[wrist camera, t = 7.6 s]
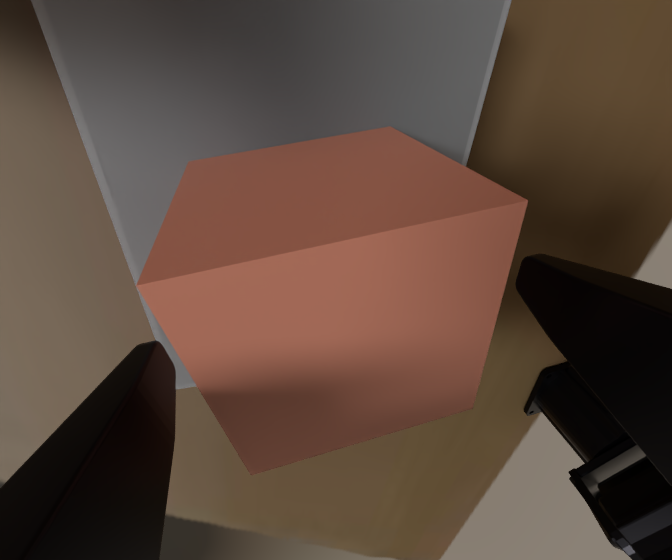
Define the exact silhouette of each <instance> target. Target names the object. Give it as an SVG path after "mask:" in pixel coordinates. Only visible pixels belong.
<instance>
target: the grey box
mask: <svg viewBox="0 0 672 560" xmlns="http://www.w3.org/2000/svg"><path fill="white" fill-rule="evenodd" d="M31 2H32V4H33V7H34V10H35V12H36V15H37V18H38V21H39V23H40V26H41V29H42V32H43V34H44V37H45V40H46V42H47V45H48V48H49V51H50V53H51V56H52V59H53V62H54V64H55V67H56V70H57V72H58V75H59V78H60V81H61V83H62V86H63V89H64V92H65V94H66V97H67V100H68V102H69V105H70V108H71V111H72V113H73V116H74V119H75V122H76V124H77V127H78V130H79V132H80V135H81V138H82V141H83V143H84V146H85V149H86V151H87V154H88V157H89V160H90V162H91V165H92V168H93V171H94V173H95V176H96V179H97V181H98V184H99V187H100V190H101V192H102V195H103V198H104V201H105V203H106V206H107V209H108V211H109V214H110V217H111V220H112V222H113V225H114V228H115V231H116V233H117V236H118V239H119V241H120V244H121V247H122V250H123V252H124V255H125V258H126V261H127V263H128V266H129V269H130V271H131V274H132V277H133V280H134V282H135V285H137V282H138V280H139V278H140V275H141V273H142V270H143V268H144V266H145V263H146V261H147V259H148V256H149V254H150V251H151V249H152V247H153V244H154V242H155V240H156V237H157V235H158V233H159V230H160V228H161V225H162V223H163V221H164V218H165V216H166V214H167V211H168V209H169V206H170V204H171V202H172V199H173V197H174V195H175V192H176V190H177V187H178V185H179V183H180V180H181V178H182V176H183V173H184V171H185V169H186V166H187V164H188V161H193V160H199V159H205V158H211V157H216V156H222V155H228V154H234V153H239V152H245V151H251V150H257V149H262V148H268V147H274V146H280V145H285V144H291V143H297V142H303V141H308V140H314V139H320V138H326V137H331V136H337V135H343V134H349V133H354V132H360V131H366V130H372V129H377V128H383V127H389V126H391V127H393V128H394V129H396V130H398V131H400V132H402V133H404V134H406V135H407V136H409V137H411V138H413V139H415V140H417V141H419V142H420V143H422V144H424V145H426V146H428V147H430V148H432V149H433V150H435V151H437V152H439V153H441V154H443V155H445V156H446V157H448V158H450V159H452V160H454V161H456V162H458V163H460V164H461V165H463V166H465V167H466V164H467V161H468V157H469V153H470V150H471V146H472V143H473V139H474V135H475V132H476V128H477V124H478V121H479V117H480V113H481V110H482V106H483V102H484V99H485V95H486V91H487V88H488V84H489V81H490V77H491V73H492V70H493V66H494V62H495V59H496V55H497V51H498V48H499V44H500V40H501V37H502V33H503V29H504V26H505V22H506V18H507V15H508V11H509V8H510V4H511V0H31ZM136 288H137V286H136ZM137 291H138V293H139V296H140V299H141V301H142V304H143V307H144V310H145V312H146V315H147V318H148V321H149V323H150V326H151V329H152V331H153V334H154V337H155V340H156V341H159V342H160V343H161V344H162V345H163V347H164V348H165V350H166V352H167V353H168V355H169V357H170V359H171V360H172V362H173V364H174V366H175V370H176V389H182V388H188V387H195V386H197V385H196V384H195V382H194V381H193V379H192V377H191V376H190V374H189V372H188V371H187V369H186V367H185V366H184V364H183V362H182V361H181V359H180V357H179V356H178V354H177V352H176V351H175V349H174V348H173V346H172V344H171V343H170V341H169V339H168V338H167V336H166V334H165V333H164V331H163V329H162V328H161V326H160V324H159V323H158V321H157V319H156V318H155V316H154V314H153V313H152V311H151V310H150V308H149V306H148V305H147V303H146V301H145V300H144V298H143V296H142V295H141V293H140V291H139V290H138V288H137Z"/></svg>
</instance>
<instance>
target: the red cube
mask: <svg viewBox="0 0 672 560" xmlns="http://www.w3.org/2000/svg"><path fill="white" fill-rule="evenodd" d="M527 204H528V200H526V199H525V198H523V197H521V196H519V195H517V194H515V193H513V192H512V191H510V190H508V189H506V188H504V187H502V186H500V185H499V184H497V183H495V182H493V181H491V180H489V179H487V178H486V177H484V176H482V175H480V174H478V173H476V172H474V171H473V170H471V169H469V168H467V167H465V166H463V165H461V164H460V163H458V162H456V161H454V160H452V159H450V158H448V157H446V156H445V155H443V154H441V153H439V152H437V151H435V150H433V149H432V148H430V147H428V146H426V145H424V144H422V143H420V142H419V141H417V140H415V139H413V138H411V137H409V136H407V135H406V134H404V133H402V132H400V131H398V130H396V129H394V128H393V127H391V126H389V127H383V128H377V129H372V130H366V131H360V132H354V133H349V134H343V135H337V136H331V137H326V138H320V139H314V140H308V141H303V142H297V143H291V144H285V145H280V146H274V147H268V148H262V149H257V150H251V151H245V152H239V153H234V154H228V155H222V156H216V157H211V158H205V159H199V160H193V161H188V164H187V166H186V169H185V171H184V173H183V176H182V178H181V180H180V183H179V185H178V187H177V190H176V192H175V195H174V197H173V199H172V202H171V204H170V206H169V209H168V211H167V214H166V216H165V218H164V221H163V223H162V225H161V228H160V230H159V233H158V235H157V237H156V240H155V242H154V244H153V247H152V249H151V251H150V254H149V256H148V259H147V261H146V263H145V266H144V268H143V270H142V273H141V275H140V278H139V280H138V282H137V285H136V286H137V288H138V290H139V291H140V293H141V295H142V296H143V298H144V300H145V301H146V303H147V305H148V306H149V308H150V310H151V311H152V313H153V314H154V316H155V318H156V319H157V321H158V323H159V324H160V326H161V328H162V329H163V331H164V333H165V334H166V336H167V338H168V339H169V341H170V343H171V344H172V346H173V348H174V349H175V351H176V352H177V354H178V356H179V357H180V359H181V361H182V362H183V364H184V366H185V367H186V369H187V371H188V372H189V374H190V376H191V377H192V379H193V381H194V382H195V384H196V385H197V387H198V389H199V390H200V392H201V394H202V395H203V397H204V399H205V400H206V402H207V404H208V405H209V407H210V409H211V410H212V412H213V414H214V415H215V417H216V418H217V420H218V422H219V423H220V425H221V427H222V428H223V430H224V432H225V433H226V435H227V437H228V438H229V440H230V442H231V443H232V445H233V447H234V448H235V450H236V451H237V453H238V455H239V456H240V458H241V460H242V461H243V463H244V465H245V466H246V468H247V470H248V471H249V473H250V475H254V474H257V473H261V472H264V471H267V470H271V469H274V468H277V467H281V466H284V465H287V464H291V463H294V462H297V461H301V460H304V459H307V458H311V457H314V456H317V455H320V454H324V453H327V452H330V451H334V450H337V449H340V448H344V447H347V446H350V445H354V444H357V443H360V442H364V441H367V440H370V439H374V438H377V437H380V436H383V435H387V434H390V433H393V432H397V431H400V430H403V429H407V428H410V427H413V426H417V425H420V424H423V423H427V422H430V421H433V420H437V419H440V418H443V417H446V416H450V415H453V414H456V413H460V412H463V411H466V410H470V409H473V406H474V402H475V398H476V394H477V391H478V387H479V383H480V379H481V376H482V372H483V368H484V364H485V361H486V357H487V353H488V349H489V346H490V342H491V338H492V335H493V331H494V327H495V323H496V320H497V316H498V312H499V308H500V305H501V301H502V297H503V293H504V290H505V286H506V282H507V278H508V275H509V271H510V267H511V263H512V260H513V256H514V252H515V248H516V245H517V241H518V237H519V234H520V230H521V226H522V222H523V219H524V215H525V211H526V207H527Z"/></svg>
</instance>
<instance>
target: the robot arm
mask: <svg viewBox="0 0 672 560" xmlns="http://www.w3.org/2000/svg"><path fill="white" fill-rule="evenodd" d="M516 289H517V291H518V293H519V294H520V296H521V297H522V299H523V300H524V302H525V303H526V305H527V306H528V308H529V309H530V311H531V312H532V314H533V315H534V317H535V318H536V320H537V321H538V323H539V324H540V326H541V327H542V328H543V330H544V331H545V333H546V334H547V336H548V337H549V338H550V340H551V341H552V342H553V343H554V345H555V346H556V347H557V348H558V350H559V351H560V352H561V353H562V354H563V356H564V357H565V358H566V359H567V360H568V362H569V363H567V364H563V365H560V366H556V367H553V368H549V369H546V370H544V371H543V372H542V373H541V374H540V376H539V379H538V381H537V383H536V385H535V387H534V389H533V392H532V394H531V396H530V398H529V400H528V402H527V405H526V407H525V409H524V412H525V413H526V415H528V416H529V415H533V414H536V413H539V412H542V413H543V414H544V415H545V416H546V417H547V419H548V420H549V421H550V422H551V423H552V425H553V426H554V427H555V428H556V429H557V431H558V432H559V433H560V434H561V435H562V436H563V438H564V439H565V440H566V441H567V442H568V443H569V445H570V446H571V447H572V448H573V450H574V451H575V452H576V453H577V454H578V456H579V457H580V458H581V459H582V460H583V462H584V463H585V464H583V465H582V466H580V467H579V468H577V469H572V470H571V471H569V474H570V475H571V477H570V478H569V479H570V481H571V482H572V483H573V485H574V486H575V487H576V489H577V490H578V491H579V493H580V494H581V495H582V497H583V498H584V499H585V501H586V502H587V504H588V506H589V507H590V509H591V511H592V513H593V514H594V516H595V518H596V520H597V521H598V523H599V525H600V527H601V528H602V530H603V532H604V534H605V535H606V537H607V539H608V540H609V542H610V543H611V544H612V545H613V546H614V547H615V548H618V549H620V550H622V551H624V552H625V553H626V554H627V555H628V556H629V557H630V558H631V559H632V560H672V289H670V288H666V287H662V286H659V285H655V284H652V283H647V282H644V281H641V280H637V279H633V278H630V277H626V276H622V275H619V274H615V273H611V272H607V271H604V270H600V269H596V268H593V267H589V266H585V265H582V264H578V263H574V262H571V261H567V260H563V259H560V258H556V257H552V256H549V255H545V254H535V255H531V256H527V257H525V258H524V259H523V260H522V263H521V266H520V269H519V272H518V276H517V279H516ZM175 407H176V370H175V366H174V364H173V362H172V360H171V359H170V357H169V355H168V353H167V352H166V350H165V348H164V347H163V345H162V344H161V343H160V342H159V341H151V342H147V343H142V344H139V345H137V346H136V347H135V348H134V349H133V350H132V351H131V352H130V353H129V354H128V355H127V356H126V357H125V358H124V359H123V360H122V361H121V362H120V363H119V365H118V366H117V367H116V368H115V369H114V370H113V371H112V372H111V373H110V374H109V375H108V376H107V377H106V378H105V379H104V380H103V381H102V382H101V383H100V384H99V385H98V387H97V388H96V389H95V390H94V391H93V392H92V393H91V394H90V395H89V396H88V397H87V398H86V399H85V400H84V401H83V402H82V403H81V404H80V405H79V406H78V407H77V409H76V410H75V411H74V412H73V413H72V414H71V415H70V416H69V417H68V418H67V419H66V420H65V421H64V422H63V423H62V424H61V425H60V426H59V427H58V428H57V429H56V430H55V432H54V433H53V434H52V435H51V436H50V437H49V438H48V439H47V440H46V441H45V442H44V443H43V444H42V445H41V446H40V447H39V448H38V449H37V450H36V451H35V452H34V454H33V455H32V456H31V457H30V458H29V459H28V460H27V461H26V462H25V463H24V464H23V465H22V466H21V467H20V468H19V469H18V470H17V471H16V472H15V473H14V474H13V476H12V477H11V478H10V479H9V480H8V481H7V482H6V483H5V484H4V485H3V486H2V487H1V488H0V560H159V557H160V550H161V542H162V534H163V527H164V519H165V512H166V504H167V497H168V489H169V481H170V474H171V466H172V459H173V451H174V442H175Z"/></svg>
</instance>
